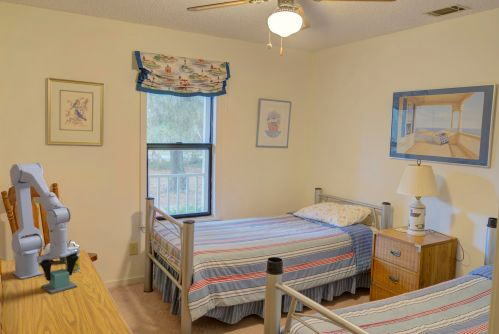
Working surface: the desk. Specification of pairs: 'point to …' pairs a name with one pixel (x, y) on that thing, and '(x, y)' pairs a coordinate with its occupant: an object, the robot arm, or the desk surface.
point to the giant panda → (63, 259)
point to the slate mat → (52, 290)
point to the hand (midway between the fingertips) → (59, 277)
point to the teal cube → (59, 279)
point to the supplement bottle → (77, 264)
